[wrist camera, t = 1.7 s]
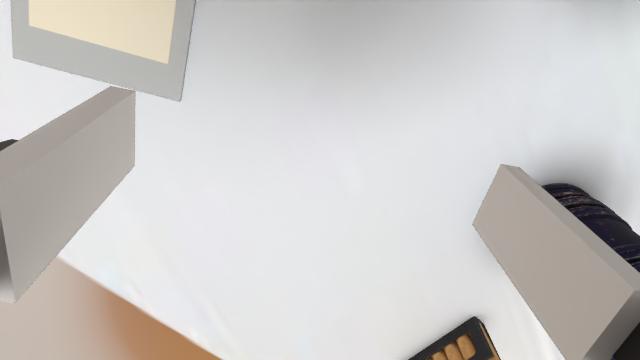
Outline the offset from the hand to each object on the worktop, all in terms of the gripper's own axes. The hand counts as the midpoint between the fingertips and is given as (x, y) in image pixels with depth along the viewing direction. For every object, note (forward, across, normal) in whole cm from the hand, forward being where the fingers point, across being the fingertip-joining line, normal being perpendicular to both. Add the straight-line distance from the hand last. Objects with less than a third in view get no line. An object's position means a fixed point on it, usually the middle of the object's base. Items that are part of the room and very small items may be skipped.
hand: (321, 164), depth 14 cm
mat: (+18, -15, +1) cm, 24 cm away
